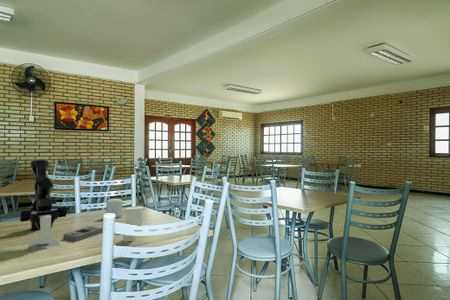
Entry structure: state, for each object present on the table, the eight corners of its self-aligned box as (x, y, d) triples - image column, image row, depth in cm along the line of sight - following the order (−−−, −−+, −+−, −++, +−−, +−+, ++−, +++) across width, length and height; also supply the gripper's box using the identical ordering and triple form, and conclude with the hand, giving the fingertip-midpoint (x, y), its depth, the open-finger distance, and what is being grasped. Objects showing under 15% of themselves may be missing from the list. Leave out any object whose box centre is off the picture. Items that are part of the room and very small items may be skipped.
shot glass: (124, 238, 141) (124, 224, 141) (137, 237, 141) (138, 224, 141) (120, 242, 134) (120, 228, 134) (134, 242, 134) (135, 228, 135)
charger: (40, 244, 124) (40, 218, 125) (39, 241, 128) (39, 216, 128) (50, 242, 127) (51, 217, 127) (49, 239, 131) (49, 214, 131)
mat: (30, 251, 120) (31, 249, 120) (29, 244, 128) (29, 243, 128) (59, 246, 127) (59, 245, 127) (56, 240, 135) (56, 238, 135)
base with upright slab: (127, 231, 151) (127, 210, 152) (124, 227, 159) (125, 207, 160) (143, 230, 156) (144, 209, 156) (140, 226, 164) (141, 206, 164)
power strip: (76, 242, 132) (76, 235, 132) (63, 240, 136) (63, 232, 136) (102, 233, 147) (102, 227, 147) (89, 231, 151) (90, 225, 151)
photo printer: (121, 215, 188) (121, 197, 189) (122, 217, 185) (123, 198, 185) (105, 217, 183) (105, 199, 183) (106, 218, 179) (106, 200, 179)
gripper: (20, 193, 125) (21, 222, 116) (67, 190, 137) (70, 216, 128) (19, 207, 131) (20, 236, 123) (64, 203, 143) (67, 229, 134)
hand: (45, 229), depth 127 cm, fingers closed on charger, 4 cm apart
